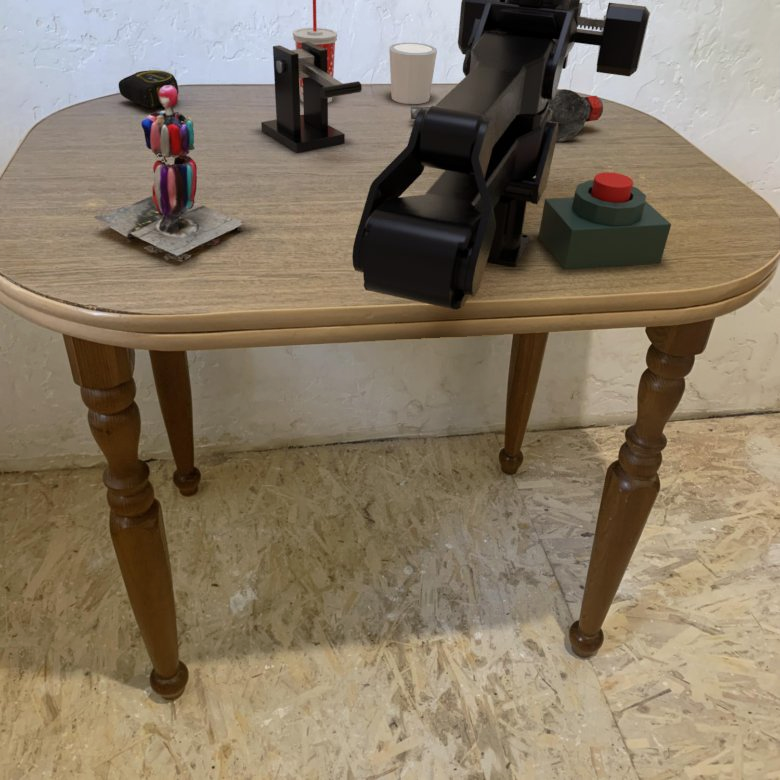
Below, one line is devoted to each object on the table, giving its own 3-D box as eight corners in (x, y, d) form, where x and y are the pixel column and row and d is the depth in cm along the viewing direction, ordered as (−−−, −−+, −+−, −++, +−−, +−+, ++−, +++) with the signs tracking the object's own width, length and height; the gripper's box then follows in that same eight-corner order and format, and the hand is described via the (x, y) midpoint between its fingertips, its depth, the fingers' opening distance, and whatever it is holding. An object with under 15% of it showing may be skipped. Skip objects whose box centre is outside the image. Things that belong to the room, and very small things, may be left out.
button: (600, 205, 72) (604, 187, 70) (584, 190, 74) (588, 172, 73) (635, 203, 72) (640, 186, 71) (619, 188, 75) (623, 171, 74)
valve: (583, 121, 114) (610, 141, 101) (408, 123, 114) (412, 144, 101) (588, 74, 111) (616, 89, 98) (408, 77, 111) (412, 92, 97)
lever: (361, 98, 90) (362, 78, 88) (324, 105, 87) (325, 84, 86) (311, 67, 96) (312, 47, 95) (276, 72, 94) (276, 52, 92)
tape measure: (119, 103, 107) (114, 75, 105) (161, 93, 111) (157, 66, 109) (147, 115, 103) (142, 86, 101) (189, 104, 107) (186, 76, 105)
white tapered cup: (441, 97, 115) (445, 47, 110) (418, 108, 110) (421, 56, 106) (402, 88, 117) (404, 39, 113) (378, 99, 113) (379, 48, 108)
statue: (244, 240, 78) (250, 92, 68) (177, 275, 72) (173, 116, 62) (165, 200, 82) (159, 54, 72) (94, 230, 75) (78, 74, 66)
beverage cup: (343, 104, 110) (343, -4, 102) (301, 107, 108) (298, -3, 100) (329, 91, 115) (328, -13, 106) (289, 94, 113) (285, -12, 104)
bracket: (344, 143, 98) (345, 53, 91) (296, 153, 94) (293, 60, 88) (308, 122, 103) (305, 36, 97) (261, 131, 100) (256, 42, 93)
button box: (564, 270, 73) (575, 211, 69) (538, 237, 78) (547, 181, 75) (660, 264, 75) (676, 206, 71) (628, 232, 80) (642, 176, 77)
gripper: (657, -39, 66) (669, -60, 78) (449, -59, 71) (490, -76, 83) (628, 94, 73) (643, 56, 85) (440, 68, 78) (479, 35, 89)
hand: (564, 16), depth 85 cm, fingers open, 9 cm apart
